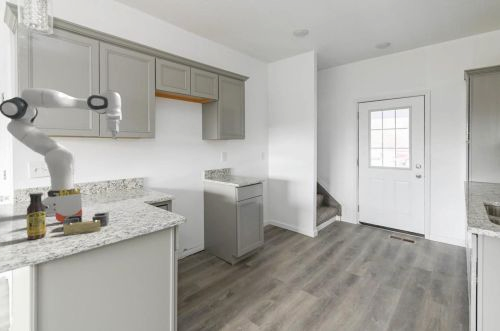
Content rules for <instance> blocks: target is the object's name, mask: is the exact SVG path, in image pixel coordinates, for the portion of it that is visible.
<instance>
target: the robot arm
mask: <svg viewBox="0 0 500 331" xmlns="http://www.w3.org/2000/svg"><path fill="white" fill-rule="evenodd" d="M38 108H44V109H45V108H46V109H80V110H89V111H94V112H96V113H98V114H101V115H104V114H105V120H107V123H108V124H107V125H108V130H109V132H111V139H112V140H118V133H120V128H119V124H120V123H121V121H122V120H123V119H122V118H123V116H122V115H123V114H122V98H121V95H120V94H119V93H118V92H117V91H114V90H106V91H104V92H102V93H97V94H92V95H90V96H88V97H87V98H79V97H74V96H71V95H68V94H66V93H64V92H61V91H59V90H56V89H52V88H42V87H31V88H24V89H23V90H22V91H21V97H19V96H14V97H13V98H9V99H6V100H3V101H2V102H1V103H0V113H1V114H2V116H4V117H6V118H7V119H11V120H10V122H8V123H7V126H6V130H7V131H8V133H10V134H11V136H13V137H14V138H15V139H16V140H17V141H19V142H20V143H22V144H23V145H24V146H26V147H27V148H28V149H30V150H32V151H33V152H35V153H36V154H37V153H38V154H39V155H41V156H43V157H44V163H45V164H46V165H47V170H48V172H49V176H50V184H51V185H50V187H51V188H50V190H48V191H47V192H46V193H47V194H46V195H47V196H46V198H44V199H42V204H43V205H44V206H45V216H46V217H53V216H55V217H56V214H55V207H56V204H55V196H56V194H59V195H60V190H62V189H63V192H64V190H65V189H67V191H69V194H70V192H71V188H73V193H74V190H76V188H75V184H74V183H75V182H74V175H73V172H72V168H71V165H72V164H73V163H74V162H75V159H76V155H75V153H74V152H73V151H72V150H71V149H69V148H67V147H66V146H64V145H62V144H61V143H59V142H58V141H56V140H54V139H53V138H52V137H50V136H48V135H47V134H45V133H44V132H43V131H41V130H40V129H39V128H37V127H35V126H34V125H33V124H32V123H34V121H35V119H36V118H37V116H38V114H39V110H38ZM67 191H66V192H67Z"/></svg>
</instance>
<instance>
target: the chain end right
mask: <svg viewBox="0 0 500 331" xmlns="http://www.w3.org/2000/svg"><path fill="white" fill-rule="evenodd" d="M93 220H100V224H101V227H108V224H109V221H110V218H109V212H96V213H94V216H92V221H93Z"/></svg>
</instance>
